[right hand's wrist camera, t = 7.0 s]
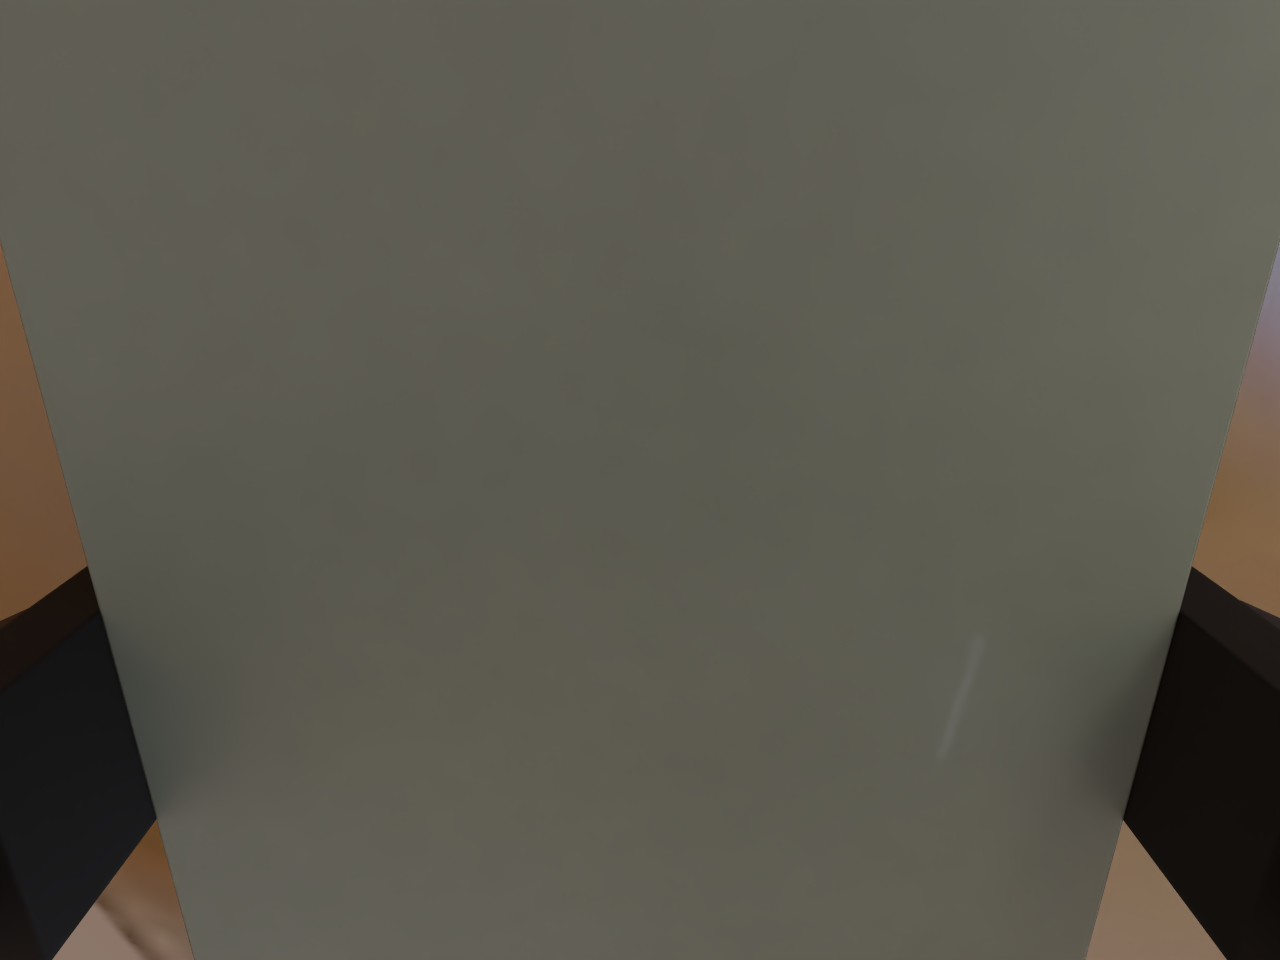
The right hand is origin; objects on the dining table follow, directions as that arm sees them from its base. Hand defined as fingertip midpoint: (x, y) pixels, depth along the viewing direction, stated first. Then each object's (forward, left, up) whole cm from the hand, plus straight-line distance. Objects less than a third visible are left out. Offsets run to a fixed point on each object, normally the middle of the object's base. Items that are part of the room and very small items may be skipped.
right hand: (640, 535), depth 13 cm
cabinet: (+4, +2, -6) cm, 7 cm away
